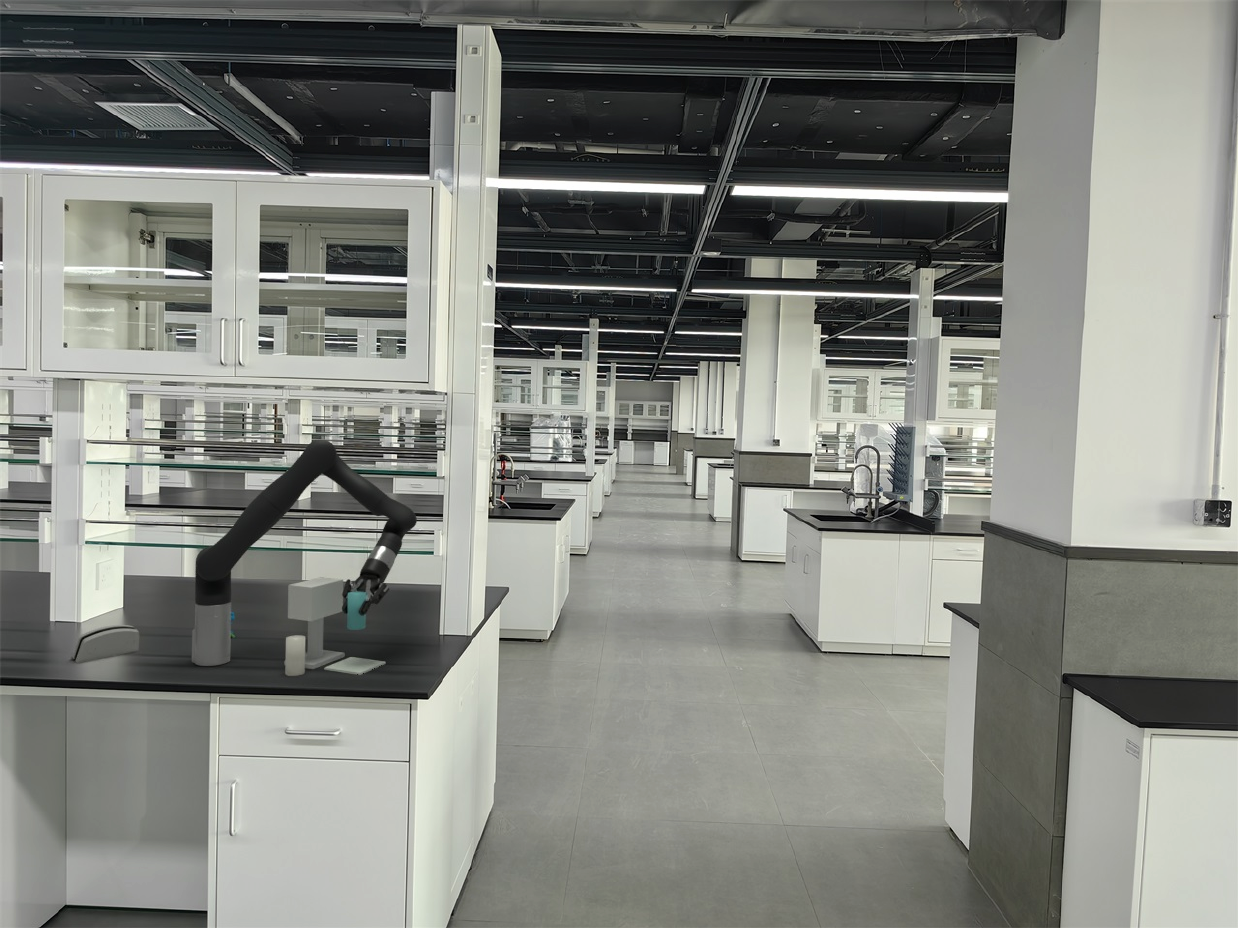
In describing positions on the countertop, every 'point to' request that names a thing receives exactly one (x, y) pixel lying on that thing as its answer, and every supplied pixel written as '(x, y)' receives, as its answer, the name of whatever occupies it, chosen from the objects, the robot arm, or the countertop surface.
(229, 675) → the countertop surface
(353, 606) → the teal part
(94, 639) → the grey curved piece
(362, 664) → the mat
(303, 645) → the cream part
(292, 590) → the mounted unit
